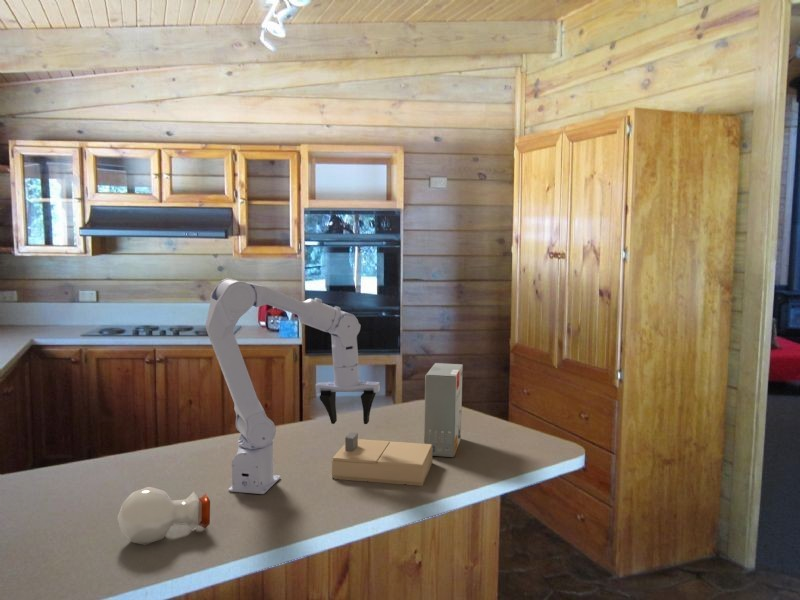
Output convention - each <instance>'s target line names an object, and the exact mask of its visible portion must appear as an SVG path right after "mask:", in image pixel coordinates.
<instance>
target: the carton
mask: <svg viewBox="0 0 800 600" xmlns="http://www.w3.org/2000/svg"><path fill="white" fill-rule="evenodd" d="M432 464H433V456H432V444H424V443H421V442H420V443H419V442H417V443H416V442H404V441H391V440H390V443H389V445H388V446H387V448H386V449H385V451H384V452H383V454H382V455H381V457H380V458H379V460H378V461H377V464H373V463H360V462H346V461H333V459H332V461H331V478H334V479H333V480H342V479H343V480H345V481H354V482H355V481H357V482H367V481H368V482H370V483H380V484H381V483H382V484H394V485H404V484H407V485H406V486H418V487H423V486H424V483H425V481H426V479H427V476H428V474H429V471H430V469H431V467H432ZM368 482H367V483H368Z"/></svg>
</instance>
